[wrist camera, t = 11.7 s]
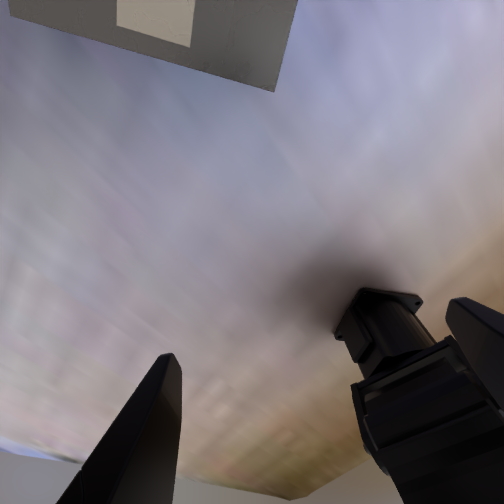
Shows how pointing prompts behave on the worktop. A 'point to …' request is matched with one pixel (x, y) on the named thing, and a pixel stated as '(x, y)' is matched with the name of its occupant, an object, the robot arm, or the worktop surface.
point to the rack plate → (181, 31)
